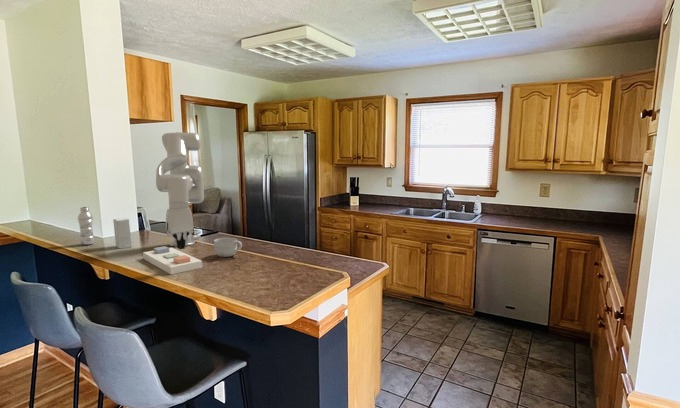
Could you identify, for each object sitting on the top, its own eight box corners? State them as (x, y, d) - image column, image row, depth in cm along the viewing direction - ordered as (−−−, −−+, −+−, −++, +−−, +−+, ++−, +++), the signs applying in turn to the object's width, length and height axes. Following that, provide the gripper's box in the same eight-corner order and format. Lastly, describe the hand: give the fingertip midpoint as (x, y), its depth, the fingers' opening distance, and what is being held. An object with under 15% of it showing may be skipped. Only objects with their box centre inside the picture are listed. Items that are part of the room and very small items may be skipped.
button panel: (172, 253, 176) (171, 247, 176) (202, 267, 155) (202, 260, 154) (143, 258, 167) (142, 252, 167) (171, 274, 145) (170, 267, 145)
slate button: (165, 250, 171) (165, 246, 171) (169, 252, 168) (169, 248, 168) (154, 252, 168) (153, 248, 168) (158, 254, 164) (157, 250, 164)
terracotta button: (185, 259, 156) (184, 255, 156) (190, 262, 153) (190, 257, 153) (173, 262, 153) (173, 257, 153) (178, 264, 149) (178, 259, 149)
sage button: (174, 257, 164) (174, 253, 164) (179, 259, 161) (179, 255, 160) (163, 259, 161) (163, 255, 160) (167, 261, 157) (167, 257, 157)
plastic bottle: (87, 246, 188) (84, 208, 186) (76, 245, 190) (73, 208, 187) (98, 243, 195) (95, 206, 192) (87, 242, 196) (84, 206, 193)
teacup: (209, 256, 172) (208, 240, 171) (226, 251, 181) (225, 235, 180) (231, 260, 165) (230, 243, 164) (247, 255, 175) (247, 239, 174)
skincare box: (132, 247, 188) (130, 219, 186) (118, 249, 183) (116, 220, 182) (127, 244, 194) (125, 217, 192) (114, 246, 189) (112, 218, 188)
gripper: (192, 203, 158) (194, 244, 160) (156, 206, 147) (159, 250, 149) (200, 204, 153) (202, 247, 155) (163, 208, 142) (166, 253, 144)
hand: (181, 248), depth 152 cm, fingers closed
